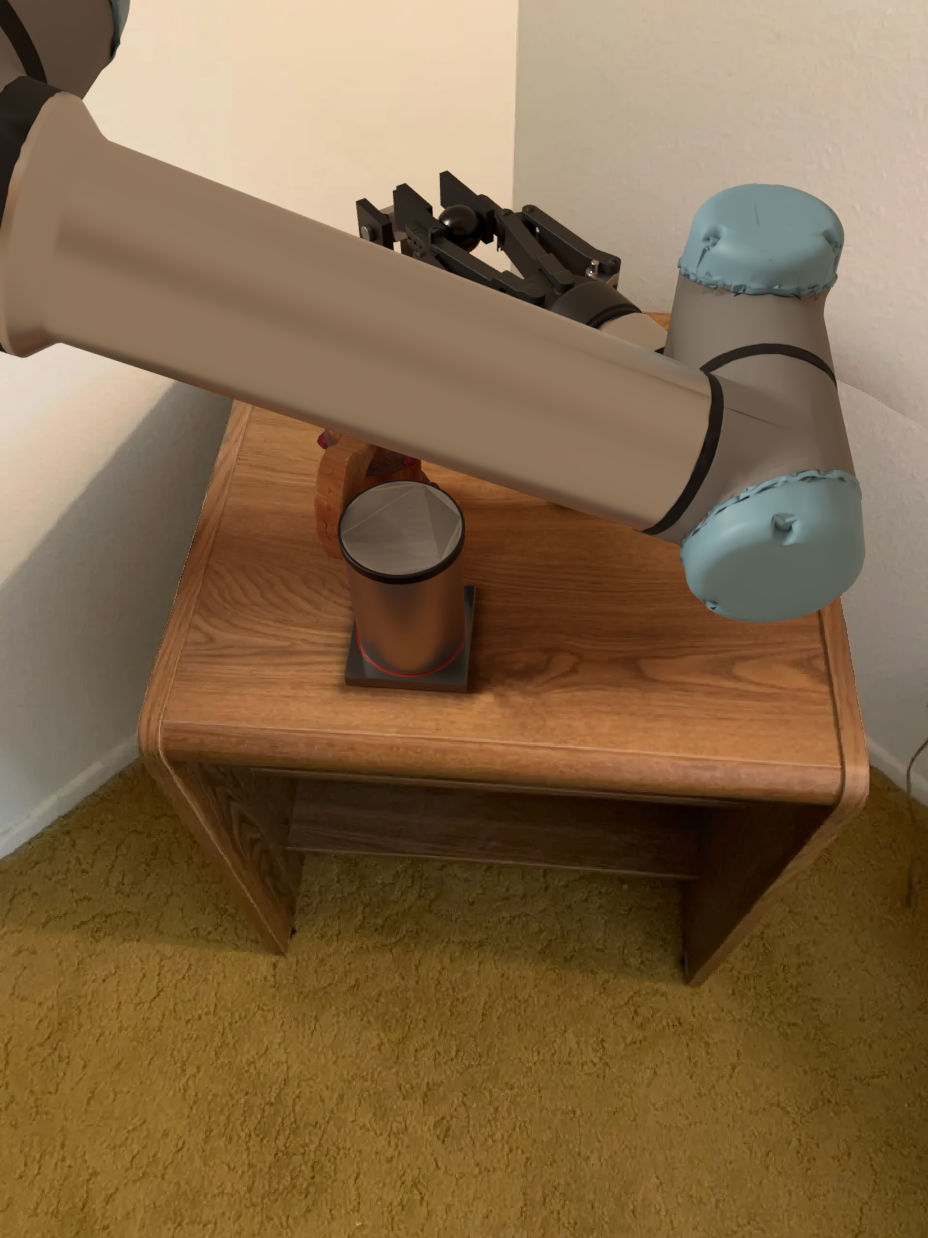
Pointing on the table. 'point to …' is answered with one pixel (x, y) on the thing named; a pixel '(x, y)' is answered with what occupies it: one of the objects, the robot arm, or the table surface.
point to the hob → (439, 679)
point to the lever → (449, 226)
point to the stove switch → (384, 222)
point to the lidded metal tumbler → (405, 573)
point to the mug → (353, 479)
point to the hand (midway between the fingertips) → (421, 196)
